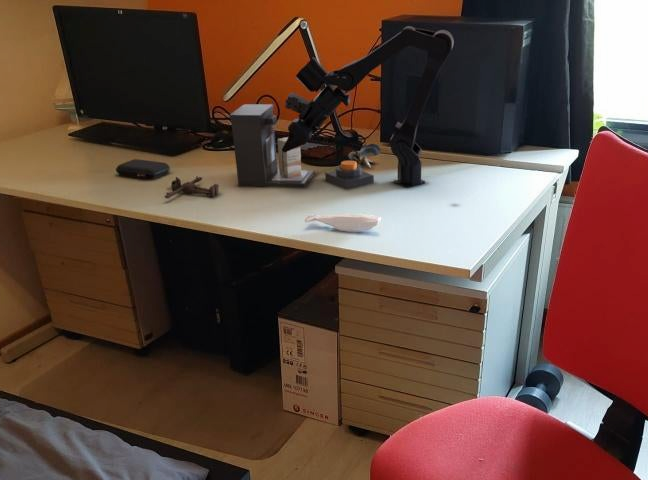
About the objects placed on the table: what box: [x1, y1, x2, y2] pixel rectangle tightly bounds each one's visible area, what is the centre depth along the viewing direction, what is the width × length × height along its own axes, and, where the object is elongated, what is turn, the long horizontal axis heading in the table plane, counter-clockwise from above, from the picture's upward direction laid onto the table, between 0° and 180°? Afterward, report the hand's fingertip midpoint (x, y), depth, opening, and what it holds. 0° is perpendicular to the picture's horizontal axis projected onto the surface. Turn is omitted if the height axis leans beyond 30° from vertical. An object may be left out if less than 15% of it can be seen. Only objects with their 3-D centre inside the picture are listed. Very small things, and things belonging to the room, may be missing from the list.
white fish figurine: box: [304, 212, 382, 233], centre depth 169 cm, size 6×18×4 cm, turn 71°
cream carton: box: [277, 136, 302, 178], centre depth 200 cm, size 5×4×10 cm
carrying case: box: [115, 158, 171, 180], centre depth 212 cm, size 11×3×15 cm
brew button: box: [340, 160, 357, 170], centre depth 199 cm, size 4×4×2 cm
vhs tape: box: [300, 141, 335, 158], centre depth 228 cm, size 14×8×2 cm, turn 55°
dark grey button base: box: [324, 164, 375, 190], centre depth 200 cm, size 11×9×4 cm
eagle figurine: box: [347, 143, 382, 169], centre depth 212 cm, size 8×7×9 cm
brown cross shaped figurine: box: [164, 175, 220, 199], centre depth 195 cm, size 18×4×14 cm
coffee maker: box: [228, 103, 315, 189], centre depth 199 cm, size 19×14×19 cm
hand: (287, 146), depth 199 cm, fingers open, 9 cm apart
